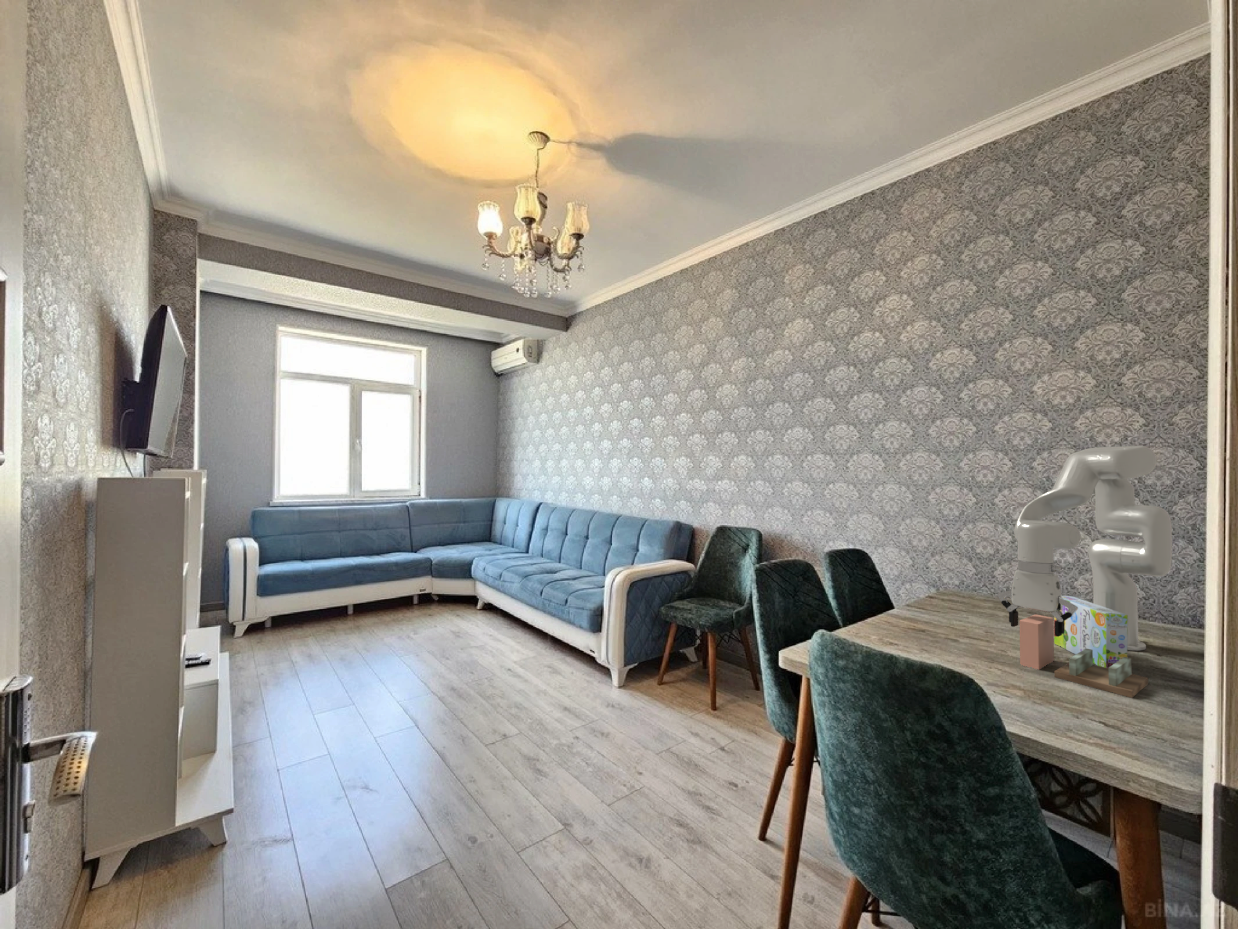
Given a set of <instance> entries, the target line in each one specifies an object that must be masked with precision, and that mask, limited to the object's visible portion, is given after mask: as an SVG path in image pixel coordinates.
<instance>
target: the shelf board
mask: <svg viewBox="0 0 1238 929" xmlns="http://www.w3.org/2000/svg"><path fill="white" fill-rule="evenodd" d="M1053 674H1054V678H1056V679H1061V680H1064V681H1068V682H1072V683H1075V684H1079V685H1083V686H1085V687H1086V686H1087V687H1091V688H1092V689H1093V688H1094V689H1098V690H1102V691H1104V692H1105V691H1106V692H1109V693H1112V692H1113V694H1116V695H1120V696H1124V697H1128V698H1132V699H1133V698H1134V697H1135V696H1136V695H1137V694H1139V693H1140V692H1141V691H1142V690H1143V689H1144V688H1145V687H1147V686H1148V685H1149V677H1146V676H1143V675H1142V676H1141V675H1138V674H1134V673H1132V658H1131V657H1128V656H1127V657H1124V658H1122V659H1121V660H1119V661H1118V662H1116V663H1115V664H1113V665H1112V666H1110V667H1109V668H1105V667H1101V666H1098V665H1096V664H1094V663H1093V650H1091V649H1087V648H1086V649H1085V650H1083V651H1081V652H1079V653H1078V654H1074V655H1073V656H1071V657H1069V658H1068V663H1066V664H1064V665H1062V666H1061V667H1059V668H1057V669H1056V670H1054V671H1053Z"/></svg>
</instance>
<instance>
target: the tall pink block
mask: <svg viewBox="0 0 1238 929" xmlns="http://www.w3.org/2000/svg"><path fill="white" fill-rule="evenodd" d="M1053 661H1054V662H1055V645H1054V617H1052V616H1051V617H1050V616H1045V615H1042V614H1041V615H1040V614H1037V613H1036V614H1033V615H1030V616H1028V617H1025V618H1021V619H1020V620H1019V662H1020V663H1019V664H1021V665H1020V666H1022V665H1023V667H1026V666H1027V667H1026V668H1030V667H1032V668H1031V669H1033V668H1034V670H1037V669H1038V670H1037V671H1039V670H1041V669H1043V668H1045V667H1047V666H1048V665H1050V664H1051V662H1052V663H1054V662H1053ZM1049 663H1050V664H1049ZM1047 664H1048V665H1047ZM1046 665H1047V666H1046ZM1044 666H1045V667H1044ZM1042 667H1043V668H1042Z"/></svg>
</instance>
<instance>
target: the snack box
mask: <svg viewBox="0 0 1238 929" xmlns="http://www.w3.org/2000/svg"><path fill="white" fill-rule="evenodd" d="M1062 598H1063V599H1065V600H1066V601H1068V602H1070V603H1072V604H1074V605H1075V606H1077V607H1078V609H1077V611H1076V612H1075V613H1074V614H1073V616H1072V617H1070V618H1068V619H1067V620H1065V621H1064V623H1065V632H1064V634H1062V635H1061V636H1059V637H1058V636H1055V621H1056V618H1055V617H1054V616H1053V627H1054V644H1055V645H1056V646H1058V647H1060V646H1061V647H1060V648H1062V649H1063V650H1066V651H1068V652H1070V653H1072V654H1074V655H1076V654H1078V653H1079V652H1081V651H1083V650H1085V649H1086V648H1087V649H1091V650H1093V665H1097V666H1101V667H1105V668H1109V667H1110V666H1112V665H1113V664H1115V663H1116V662H1118V661H1119V660H1121V659H1122V658H1124V657H1127V658H1128V650H1127V630H1128V615H1126V614H1123V613H1120V612H1117V611H1114V610H1111V609H1109V608H1106V607H1103V606H1100V605H1097V604H1094V603H1093V602H1092V601H1087V600H1085V599H1082V598H1079V597H1077V596H1076V597H1075V596H1073V595H1071V596H1070V595H1062ZM1060 611H1061V612H1062V613H1063V614H1065V613H1066V612H1067V611H1068V608H1067V607H1065V606H1064V605H1062V609H1061V610H1060Z"/></svg>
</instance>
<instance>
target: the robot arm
mask: <svg viewBox="0 0 1238 929" xmlns="http://www.w3.org/2000/svg"><path fill="white" fill-rule="evenodd" d="M1157 458H1158V457H1157V455H1156V453H1155V451H1154V450H1153V449H1152V448H1150V447H1148V446H1144V445H1129V446H1102V447H1101V446H1100V447H1099V446H1098V447H1097V446H1096V447H1089V448H1085V449H1082V450H1080V451H1076V452H1073V453H1071V454H1069V456H1068V457H1067V458H1066V460H1065V461H1064V464H1063V466H1062V468H1061V470H1060V473H1059V474H1058V476H1057V479H1056V481H1055V483H1054V485H1053V487H1052V488H1051V489H1050V490H1048V491H1046V492H1045V493H1042V494H1041V495H1039V496H1038V497H1036V498H1034V499H1033V500H1031V501H1030V502H1028V504H1026V505H1025V506H1024V507H1023V508H1022V510H1021V511H1020V513H1019V516H1018V517H1017V520H1016V522H1015V525H1014V529H1013V535H1014V537H1015V540H1016V542H1017V569H1016V570H1015V571H1014V575H1013V578H1012V584H1011V590H1006V591H1003V592H1000V593H999V592H998V593H997V597H998V600H999V601H1000V603H1001V604H1002V606H1003V607H1004V608H1005V609H1006V611H1007V612H1008V622H1009V624H1010V627H1012V628H1014V627H1017V626H1019V612H1018V610H1017V609H1018V608H1022V609H1028V610H1034V611H1040V612H1045V613H1050V614H1051V615H1052V616H1053V618H1054V617H1055V618H1056V621H1055V636H1058V637H1059V636H1061V635H1062V634H1064V632H1065V623H1064V621H1065V620H1067V619H1068V618H1070V617H1072V616H1073V614H1074V613H1075V612H1076V611H1077V609H1078V607H1077V606H1075V605H1074V604H1072V603H1070V602H1068V601H1066V600H1065V599H1063V598H1062V596H1063V595H1062V590H1061V584H1060V578H1059V576H1058V574H1055V572H1056V573H1057V572H1059V573H1060V572H1061V566H1057V565H1055V562H1054V549H1055V550H1062V551H1063V550H1064V551H1065V550H1071V549H1074V548H1076V547H1077V546H1078V545H1079V544H1080V542H1081V540H1082V539H1081V537H1082V534H1081V531H1080V530H1079V528H1077V526H1075V525H1074V524H1071V523H1068V522H1065V521H1064V522H1062V521H1051V520H1043V519H1044V518H1046V517H1048V516H1050V515H1052V514H1055V513H1059V512H1062V511H1063V512H1064V511H1067V510H1070V509H1071V510H1073V509H1075V508H1078V507H1081V506H1085V505H1087V503H1089V502H1090V500H1091V498H1092V495H1093V493H1094V494H1095V495H1094V496H1095V499H1094V500H1095V502H1094V504H1095V505H1094V506H1095V507H1094V508H1095V513H1094V514H1095V515H1094V520H1095V526H1096V528H1097V530H1098V531H1099V532H1100V533H1103V534H1107V535H1113V536H1120V537H1121V536H1122V537H1123V536H1124V537H1133V538H1142V539H1143V542H1141V541H1135V540H1134V541H1132V540H1127V539H1126V540H1124V539H1113V538H1102V539H1097V540H1093V541H1092V542H1090V544H1089V545H1088V548H1087V549H1088V550H1087V555H1088V560H1089V563H1090V566H1091V572H1092V574H1091V575H1092V585H1093V586H1092V589H1093V590H1092V592H1093V593H1092V594H1093V595H1092V597H1093V602H1092V603H1094V604H1097V605H1100V606H1103V607H1106V608H1109V609H1111V610H1114V611H1117V612H1120V613H1123V614H1126V615H1128V630H1127V651H1145V650H1146V649H1147V645H1146V644H1145V643H1144V642H1143V641H1140V640H1139V616H1138V615H1139V612H1138V610H1139V609H1138V607H1139V606H1138V605H1139V604H1138V588H1137V586H1136V583H1135V582H1134V580H1133V579H1132V578H1131V577H1130V575H1129V574H1132V575H1133V574H1134V575H1140V576H1141V575H1142V576H1148V577H1149V576H1150V577H1158V578H1159V577H1163V576H1167V575H1168V574H1169V572H1170V571H1171V567H1172V560H1173V559H1172V558H1173V557H1172V553H1173V552H1172V551H1173V550H1172V548H1173V546H1172V545H1173V544H1172V543H1173V542H1172V539H1173V536H1172V535H1173V532H1172V530H1173V529H1172V520H1171V517H1170V514H1169V513H1168V512H1167V510H1166V509H1164V508H1163V507H1160V506H1157V505H1149V504H1147V505H1146V504H1136V502H1135V487H1134V486H1133V484H1132V482H1130V479H1135V478H1139V477H1140V478H1141V477H1143V476H1147V475H1149V474H1151V473H1152V472H1153V471H1154V470H1155V468H1156V465H1157V463H1158V462H1157V461H1158V459H1157ZM1009 596H1011V602H1010V601H1009V600H1008V599H1007V597H1009ZM1062 605H1064V606H1065V607H1067V608H1068V611H1067V612H1066V613H1065V614H1063V613H1062V612H1061V611H1060V610H1061V609H1062Z"/></svg>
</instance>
